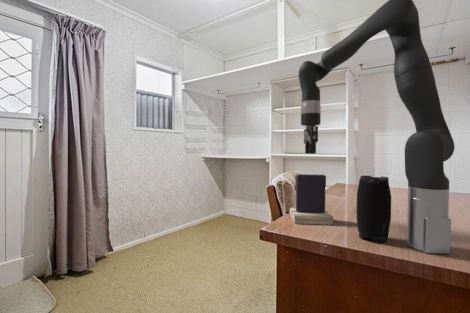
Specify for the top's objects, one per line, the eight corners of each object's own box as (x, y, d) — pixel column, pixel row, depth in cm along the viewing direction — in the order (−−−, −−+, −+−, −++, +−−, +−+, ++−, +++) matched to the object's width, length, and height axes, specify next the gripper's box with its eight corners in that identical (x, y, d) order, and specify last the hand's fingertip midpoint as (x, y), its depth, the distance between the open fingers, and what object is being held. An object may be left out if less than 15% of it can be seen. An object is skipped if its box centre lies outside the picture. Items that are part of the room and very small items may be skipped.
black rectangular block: (322, 210, 101) (323, 174, 101) (325, 213, 97) (326, 175, 97) (295, 210, 102) (295, 174, 102) (297, 212, 98) (297, 175, 97)
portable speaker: (353, 233, 83) (354, 175, 82) (384, 235, 81) (385, 175, 80) (360, 242, 74) (361, 177, 74) (395, 245, 72) (396, 178, 72)
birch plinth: (332, 224, 92) (332, 216, 92) (294, 223, 93) (294, 215, 93) (322, 215, 106) (322, 208, 106) (289, 214, 107) (289, 207, 107)
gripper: (325, 110, 92) (324, 153, 92) (315, 115, 106) (315, 153, 106) (304, 110, 92) (304, 153, 92) (298, 115, 106) (297, 153, 107)
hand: (310, 153), depth 99 cm, fingers open, 8 cm apart
